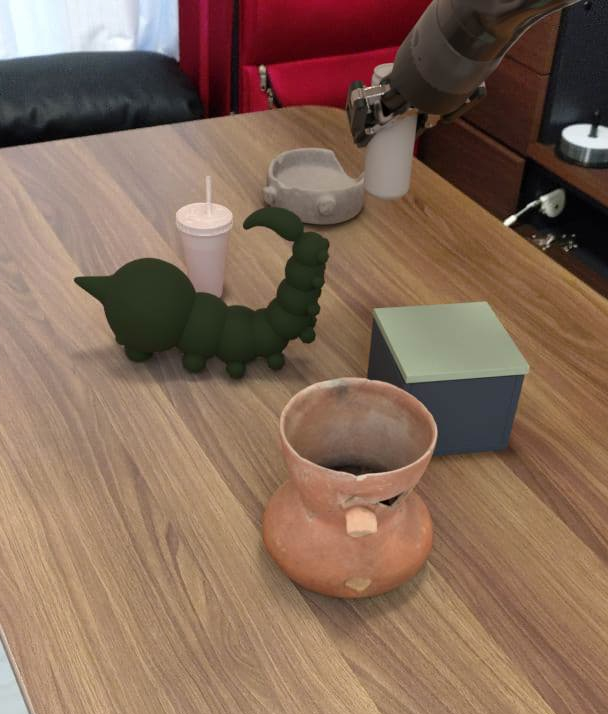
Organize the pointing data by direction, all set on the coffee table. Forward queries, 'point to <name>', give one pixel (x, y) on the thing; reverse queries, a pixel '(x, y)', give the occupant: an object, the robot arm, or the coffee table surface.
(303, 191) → the dish
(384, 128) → the beverage can
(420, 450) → the ceramic jug
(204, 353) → the toy figurine
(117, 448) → the coffee table surface
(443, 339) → the lid
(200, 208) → the smoothie
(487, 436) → the box
